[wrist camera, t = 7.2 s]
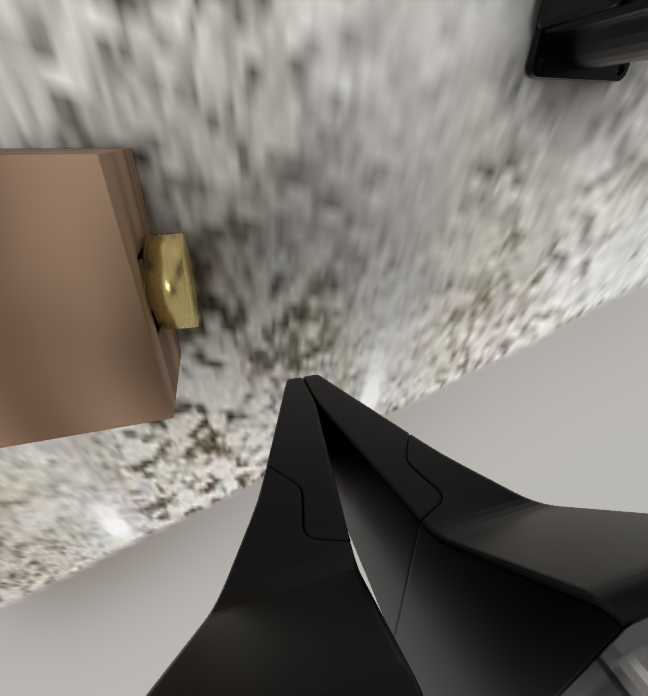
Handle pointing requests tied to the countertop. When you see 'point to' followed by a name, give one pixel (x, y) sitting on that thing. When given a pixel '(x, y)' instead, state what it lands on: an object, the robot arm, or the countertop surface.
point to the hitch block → (77, 298)
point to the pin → (169, 281)
